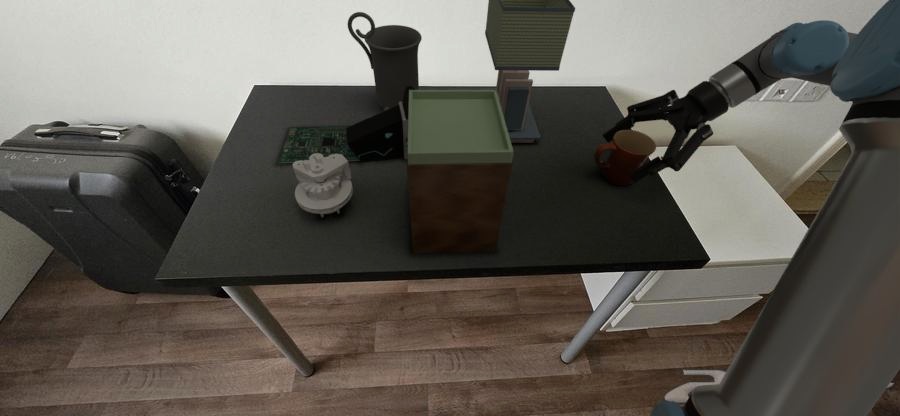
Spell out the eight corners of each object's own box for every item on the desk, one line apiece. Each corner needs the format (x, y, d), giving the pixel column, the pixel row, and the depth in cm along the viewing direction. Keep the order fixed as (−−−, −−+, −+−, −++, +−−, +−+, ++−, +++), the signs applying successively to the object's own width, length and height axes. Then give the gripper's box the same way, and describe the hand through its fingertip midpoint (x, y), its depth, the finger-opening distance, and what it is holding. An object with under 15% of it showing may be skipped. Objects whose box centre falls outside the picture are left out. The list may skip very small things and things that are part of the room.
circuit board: (366, 160, 87) (365, 158, 86) (278, 163, 85) (277, 161, 84) (369, 126, 96) (369, 124, 95) (290, 128, 94) (289, 126, 93)
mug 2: (627, 164, 89) (645, 128, 81) (643, 189, 83) (663, 154, 76) (579, 165, 88) (593, 130, 80) (592, 191, 82) (608, 155, 75)
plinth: (483, 187, 82) (495, 99, 66) (494, 251, 70) (513, 163, 54) (413, 188, 81) (408, 100, 65) (413, 253, 69) (406, 165, 53)
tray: (494, 100, 66) (496, 89, 64) (511, 163, 54) (513, 151, 53) (409, 100, 65) (409, 89, 63) (408, 164, 53) (407, 153, 52)
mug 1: (426, 91, 109) (425, -1, 90) (431, 120, 99) (430, 23, 80) (362, 94, 107) (347, 0, 88) (360, 123, 97) (343, 25, 78)
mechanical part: (304, 232, 72) (286, 189, 63) (299, 191, 79) (283, 148, 70) (361, 219, 74) (352, 176, 66) (352, 180, 82) (342, 137, 73)
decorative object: (349, 144, 90) (339, 88, 79) (422, 138, 93) (422, 84, 82) (350, 166, 85) (340, 109, 74) (428, 158, 88) (428, 103, 77)
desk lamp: (539, 147, 92) (576, 8, 68) (483, 148, 91) (501, 7, 67) (525, 107, 105) (553, -23, 80) (476, 107, 104) (489, -25, 80)
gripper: (765, 144, 66) (650, 206, 75) (688, 75, 82) (602, 133, 92) (757, 120, 61) (636, 189, 71) (678, 52, 78) (589, 115, 87)
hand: (617, 157), depth 81 cm, fingers open, 13 cm apart
